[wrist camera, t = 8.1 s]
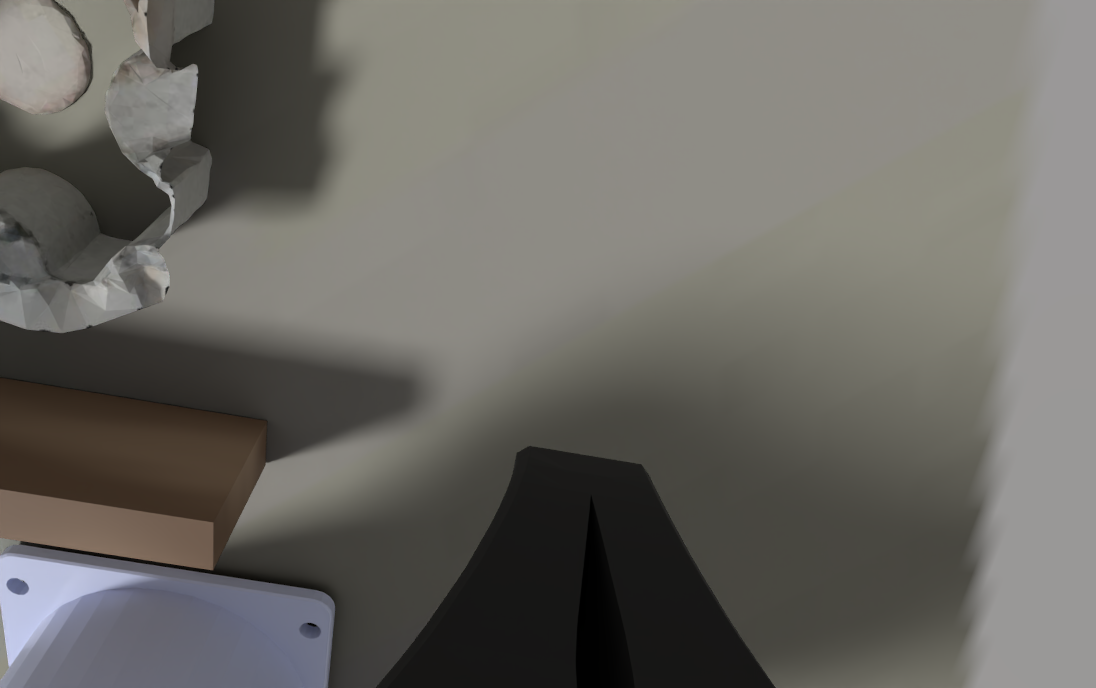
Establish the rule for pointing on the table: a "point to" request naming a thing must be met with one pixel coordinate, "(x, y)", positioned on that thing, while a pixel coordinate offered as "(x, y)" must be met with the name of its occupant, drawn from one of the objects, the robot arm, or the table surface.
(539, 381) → the table surface
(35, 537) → the walnut u-shaped frame
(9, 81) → the egg carton
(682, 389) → the table surface
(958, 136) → the table surface
